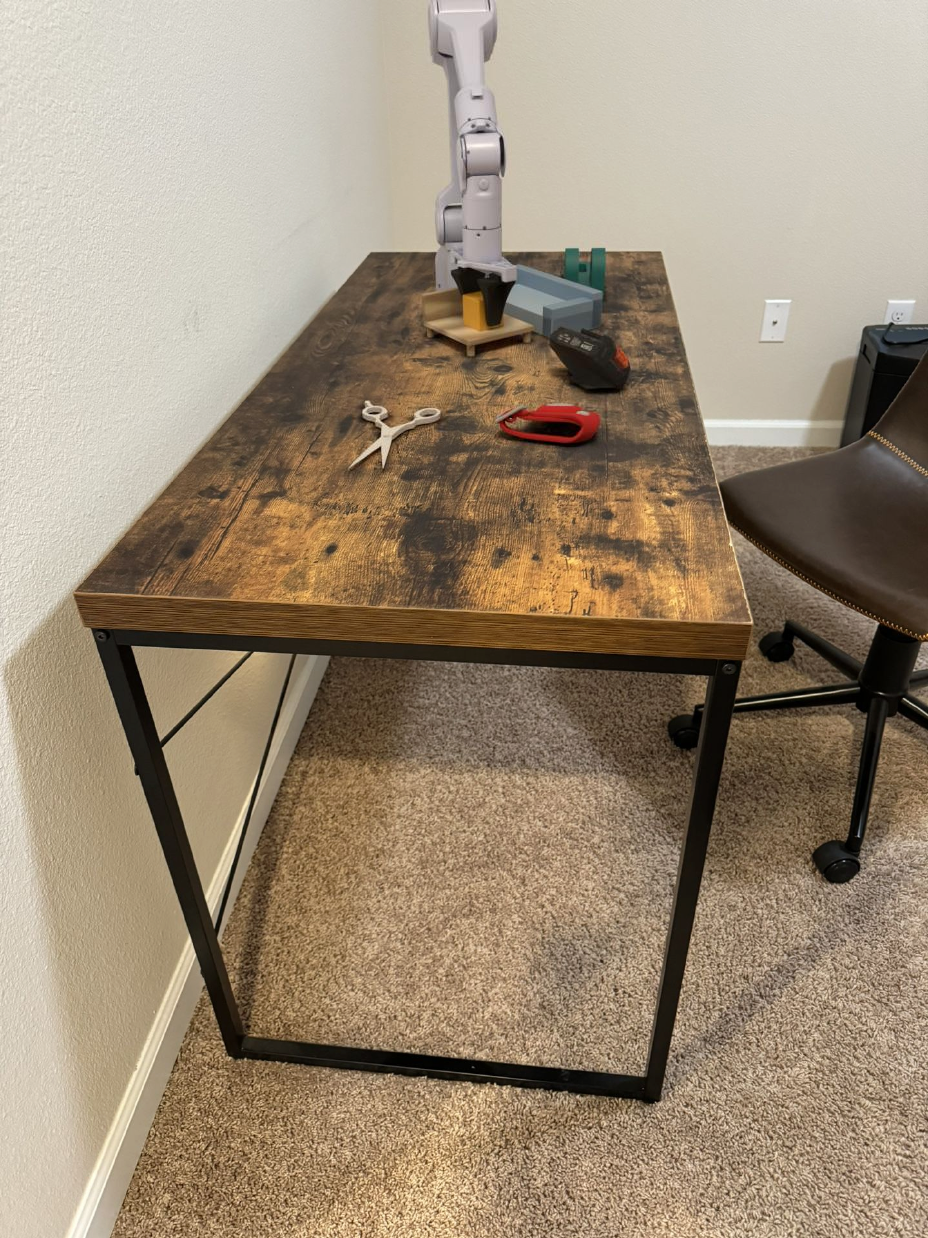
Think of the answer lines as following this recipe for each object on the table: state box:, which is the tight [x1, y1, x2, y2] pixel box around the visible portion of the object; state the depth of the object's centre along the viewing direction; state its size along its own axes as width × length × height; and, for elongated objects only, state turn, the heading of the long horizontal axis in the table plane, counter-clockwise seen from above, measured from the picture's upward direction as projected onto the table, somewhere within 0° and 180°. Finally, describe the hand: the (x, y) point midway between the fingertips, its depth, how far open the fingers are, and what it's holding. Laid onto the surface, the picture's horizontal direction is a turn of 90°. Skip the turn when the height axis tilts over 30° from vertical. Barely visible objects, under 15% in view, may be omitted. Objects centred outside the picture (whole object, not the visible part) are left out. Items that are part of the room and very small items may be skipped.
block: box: [463, 291, 504, 331], centre depth 139 cm, size 4×4×4 cm
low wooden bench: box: [421, 287, 534, 358], centre depth 141 cm, size 13×12×6 cm
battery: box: [548, 326, 632, 391], centre depth 124 cm, size 12×8×7 cm
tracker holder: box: [494, 402, 601, 444], centre depth 111 cm, size 12×4×10 cm
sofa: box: [485, 263, 603, 339], centre depth 150 cm, size 22×10×6 cm, turn 33°
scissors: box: [348, 400, 441, 469], centre depth 112 cm, size 11×1×20 cm
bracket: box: [562, 247, 607, 302], centre depth 163 cm, size 18×7×8 cm, turn 176°
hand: (483, 320), depth 140 cm, fingers open, 5 cm apart
